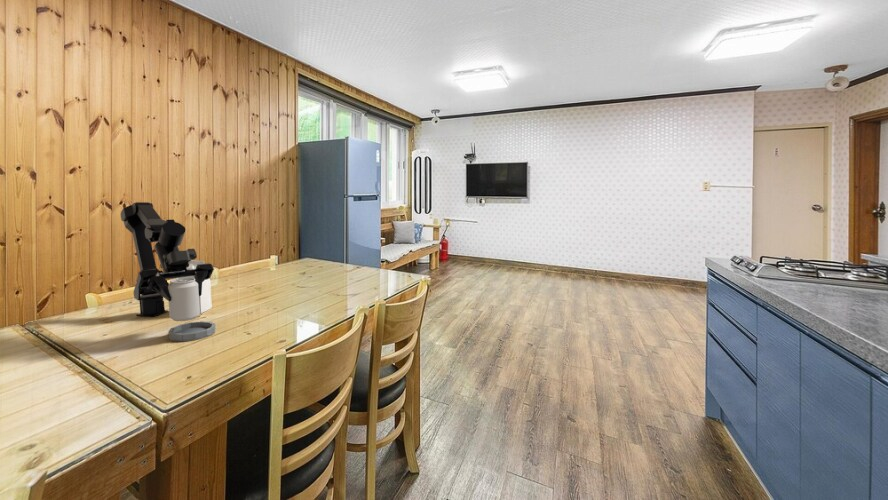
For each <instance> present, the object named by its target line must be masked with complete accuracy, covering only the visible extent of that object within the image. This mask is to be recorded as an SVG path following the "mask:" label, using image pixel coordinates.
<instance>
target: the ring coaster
mask: <svg viewBox="0 0 888 500" xmlns="http://www.w3.org/2000/svg"><path fill="white" fill-rule="evenodd" d="M215 333H216V323H214V322H213V321H203V320H202V321H191V322H186V323H181V324H178V325H176V326H173V327H171V328H170V329H169V330H168V337H169V339H170V340H171V341H173V342H191V341H192V342H193V341H197V340H201V339H205V338H208V337H211V336H212V335H214V334H215Z"/></svg>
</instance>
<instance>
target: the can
mask: <svg viewBox="0 0 888 500" xmlns="http://www.w3.org/2000/svg"><path fill="white" fill-rule="evenodd" d="M168 292H169V294H170V297H171V301H168V312H169V313H168V314H169V318H170V319H171V320H172V321H175V322H187V321H191V320H192V321H193V320H194V319H196V318H197V317H198V316H200V315H201V314H200V307H199V289H198V283H197V282H196V281H195V279H194V278H179V279H178V278H173V279H170V281H169V285H168Z"/></svg>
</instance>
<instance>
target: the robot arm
mask: <svg viewBox="0 0 888 500" xmlns="http://www.w3.org/2000/svg"><path fill="white" fill-rule="evenodd" d="M120 219H121V221H122V222H123V224H124V228H125V229H126V230H128V232H130V233H131V234H132V238H133V242H134V247H135V251H136V252H135V253H136V257H137V261H138V266H139V272H138V273H137V278H136V283H135V286H134V290H133V297H134V299H135V300H136V301H137V302H138V301H139V310H140V311H139V313H136V316H137V317H146V318H148V317H150V318H153V317H157V316H159V315H162V314H166V313H168V312H169V309H168V310H167V309H165V301H164V299H165V300H166V301H168V302H169V301H171V297H170V294H169V292H168V285H169V284H170V282H168V279H169V280H173V279H178V278H181V277H189V276H193V277H194V279H195V281H196V282H197V283H198V289H199V296H201V294H202V282H203V281H204V280H207V279H209V278H210V279H211V276H212V275H213V273H214V270H215V268H214V265H213V264H212V263H210V262H207V263H204V264H197V266H196V269H192V270H187V267H189V263H188V262H189V261H191V260H193V261H196V260H197V257H198V254H197V252H196V249H195V248H187V249H186V250H180V248H179V246H180V245H182V243H183V239H184V235H185V234H186V227H185V225H183V224H181V223H180V222H177V221H175V219H166V220H164V219H162V218H161V216H160V215H159V214H158V212H157V211H156V210H155V208H154V205H153V203H151V202H148V201H147V202H146V201H144V202H142V201H136V202H132V204H131V205H128V206H124V207H123V208H122V209H121V211H120ZM152 243H155V244H154V249H155V254H156V255H157V257H158V260H159V263H160V264H159V267H160V269H162V270H160V269H158V268H157V263H156V260H155V256H154V251H153V246H152V245H153V244H152ZM195 259H196V260H195Z"/></svg>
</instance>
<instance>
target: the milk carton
mask: <svg viewBox="0 0 888 500" xmlns="http://www.w3.org/2000/svg"><path fill="white" fill-rule="evenodd" d="M188 263H189V267H187V270H192V269H196V266H197V264H205V260H191V261H189V262H188ZM181 278H194V277H193V276H189V277H181ZM177 279H179V278H177ZM211 289H212V287H211V277H210V278H209V279H207V280H204V281H203V282H202V294H201V296H199V307H200V314H199V315H201V314H204V313H205V312H207V311H209V310H211V309H213V307H212V304H213V303H212V290H211Z"/></svg>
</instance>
